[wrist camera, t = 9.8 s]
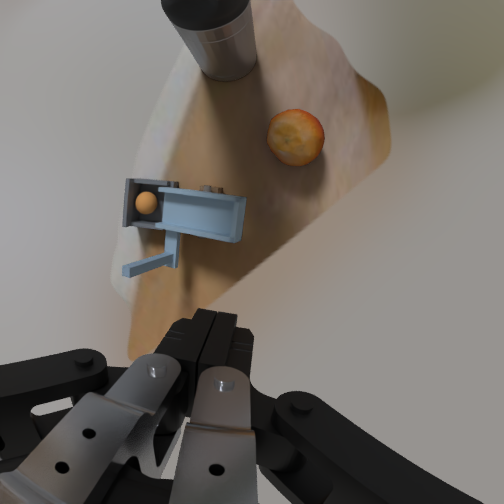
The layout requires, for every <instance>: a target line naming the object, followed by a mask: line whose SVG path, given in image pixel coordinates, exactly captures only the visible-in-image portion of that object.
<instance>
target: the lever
mask: <svg viewBox="0 0 504 504" xmlns="http://www.w3.org/2000/svg"><path fill="white" fill-rule="evenodd" d="M158 191H159V192H165V196H164V207H163V218H162V222H159V223H155V227H156V228H161V229H166V237H165V252H164V253H162V254H159V255H156V256H152V257H149V258H146V259H143V260H140V261H136V262H133V263H130V264H127V265H124V266H122V276H125V277H128V278H131V277H133V276H136V275H139V274H141V273H144V272H147V271H150V270H152V269H155V268H158V267H160V266H163V265H164V266H168V267H171V268H177V267H178V258H179V245H180V233H186V234H191V235H196V236H201V237H206V238H211V239H216V240H221V241H226V242H231V243H236V242H238V241H241V238H242V230H243V222H244V215H245V207H246V199H247V197H241V196H234V195H227V194H220V193H212V192H204V191H196V190H188V189H180V188H171V187H159V190H158Z"/></svg>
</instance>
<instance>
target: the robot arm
mask: <svg viewBox="0 0 504 504" xmlns="http://www.w3.org/2000/svg"><path fill="white" fill-rule="evenodd" d="M161 4H162V8H163V10H164V12H165V14H166V15H167V17H168V18H169V20H170V21H171V23H172V24H173V26H174V27H175V29H176V30H177V32H178V33H179V35H180V36H181V37H182V39H183V41H184V42H185V44H186V46H187V47H188V49H189V50H190V52H191V53H192V55H193V57H194V58H195V60H196V61H197V63H198V64H199V66H200V68H201V69H202V71H203V72H204V73H205V74H206V75H207V76H208V77H210V78H212V79H214V80H217V81H233V80H237V79H239V78H241V77H243V76H245V75H246V74H247V73H249V72H250V71H251V69H252V68H253V67H254V65H255V62H256V57H257V55H256V44H255V35H254V26H253V17H252V9H251V2H250V0H161ZM236 323H237V314H231V313H225V312H218V314H217V311H212V310H206V309H200V308H198V309H197V311H196V313H195V314H194V316H193V318H192V320H191V319H186V318H182V319H180V320H178V321H176V322H174V323H173V324H172V326H171V327H170V329H169V331H168V332H167V333H166V335H165V337H164V338H163V339H162V341H161V342H160V344H159V345H158V347H157V349H156V350H155V352H154V353H153V354H146V355H143V356H140V357H139V358H137V359H136V360H135V361H134V362H133V364H132V365H131V366H130V367H125V368H124V367H110V366H107V361H106V358H105V356H104V355H103V354H102V353H100V352H98V351H96V350H92V349H76V350H72V351H68V352H63V353H59V354H54V355H49V356H45V357H40V358H35V359H30V360H26V361H21V362H15V363H10V364H5V365H0V504H258V494H257V469H256V464H257V465H259V469H260V471H261V473H262V474H263V475H264V476H265V477H266V478H267V479H268V480H269V481H270V482H271V483H272V484H273V485H274V486H275V487H276V489H277V490H278V491H280V493H281V494H282V495H283V496H285V497H286V498H287V499H288V500H289V501H290V502H291V503H292V504H483V503H482V502H480V501H479V500H476V499H475V498H473V497H471V496H469V495H467V494H465V493H463V492H461V491H460V490H458V489H456V488H454V487H452V486H451V485H449V484H447V483H446V482H444V481H442V480H440V479H439V478H437V477H435V476H433V475H432V474H430V473H428V472H427V471H425V470H423V469H422V468H420V467H418V466H417V465H415V464H414V463H412V462H411V461H409V460H407V459H406V458H404V457H403V456H401V455H399V454H398V453H396V452H395V451H393V450H392V449H390V448H389V447H387V446H386V445H384V444H383V443H381V442H380V441H378V440H377V439H375V438H374V437H373V436H371V435H370V434H368V433H367V432H365V431H364V430H362V429H361V428H360V427H358V426H357V425H355V424H354V423H353V422H351V421H350V420H348V419H347V418H346V417H344V416H343V415H341V414H340V413H339V412H337V411H336V410H335V409H333V408H332V407H330V406H329V405H328V404H326V403H325V402H324V401H322V400H321V399H320V398H318V397H316V396H315V395H313V394H310V393H307V392H302V391H291V392H287V393H284V394H282V395H280V396H279V397H278V398H277V399H275V398H272V397H269V396H267V395H264V394H262V393H260V392H259V391H257V390H256V389H255V388H254V387H253V386H252V384H251V382H250V369H251V361H252V351H253V342H254V336H253V334H252V332H251V331H250V330H249V329H246V328H239V327H236ZM67 397H70V398H71V401H72V404H73V407H71V408H68V409H64V410H60V411H57V412H53V413H49V414H45V415H41V416H38V415H34V414H33V413H31V409H32V408H33V407H34V406H36V405H40V404H44V403H48V402H52V401H55V400H60V399H63V398H67ZM185 417H190V423H188V422H187V423H186V426H185V430H184V434H183V439H182V443H181V448H180V452H179V457H178V462H177V466H176V471H175V476H174V480H172V479H161V475H162V473H163V470H164V468H165V466H166V464H167V462H168V460H169V458H170V456H171V453H172V451H173V449H174V447H175V445H176V443H177V441H178V438H179V436H180V434H181V425H182V423H183V421H184V418H185Z"/></svg>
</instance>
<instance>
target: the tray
mask: <svg viewBox="0 0 504 504" xmlns="http://www.w3.org/2000/svg"><path fill="white" fill-rule="evenodd" d="M159 187H171V188H178V182H174V181H163V180H150V179H126V185H125V196H124V209H123V226H122V227H128V226H135V227H143V228H150V229H158V230H164V229H161V228H156V227H155V223H159V222H162V218H163V207H164V196H165V192H159V191H158V190H159ZM142 192H151V193H153V194H154V195H155V196H156V198H157V207H156V209H155V210H154V211H153V212H152V213H150V214H142V213H140V212H139V211H138V210H137V208H136V205H135V201H136V198H137V196H138V195H139V194H141V193H142Z"/></svg>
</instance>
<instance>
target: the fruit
mask: <svg viewBox="0 0 504 504" xmlns="http://www.w3.org/2000/svg"><path fill="white" fill-rule="evenodd" d="M324 140H325V137H324V130H323V127H322V125H321V124H320V122H319V120H318V119H317V118H316V117H314V116H313V115H311V114H310V113H308V112H306V111H303V110H300V109H293V110H287V111H284V112H282V113H280V114H277V115H276V116H275V117H274V118H272V119H271V122H270V124H269V129H268V134H267V144H268V145H269V147H270V150H271V151H272V152H273V153H274V154H275V155H276V156H277V158H278V159H279V160H280V161H281V162H282V163H284V164H286V165H290V166H302V165H306V164H308V163H310V162H311V161H312V160H314V159H315V158H316V157H317V156H318V155H319V153H320V151H321V150H322V148H323V144H324Z"/></svg>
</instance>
